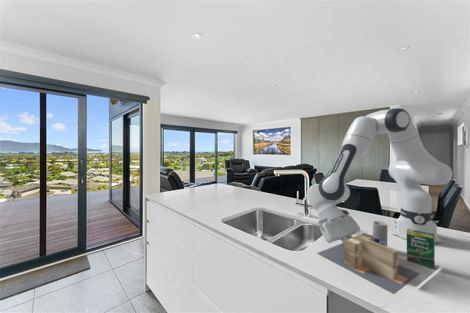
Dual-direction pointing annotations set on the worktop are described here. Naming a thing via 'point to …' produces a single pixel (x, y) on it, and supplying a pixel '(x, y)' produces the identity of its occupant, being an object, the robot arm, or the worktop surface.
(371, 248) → the t block
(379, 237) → the energy drink
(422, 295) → the worktop surface
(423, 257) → the coffee box
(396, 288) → the mat
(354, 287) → the worktop surface
